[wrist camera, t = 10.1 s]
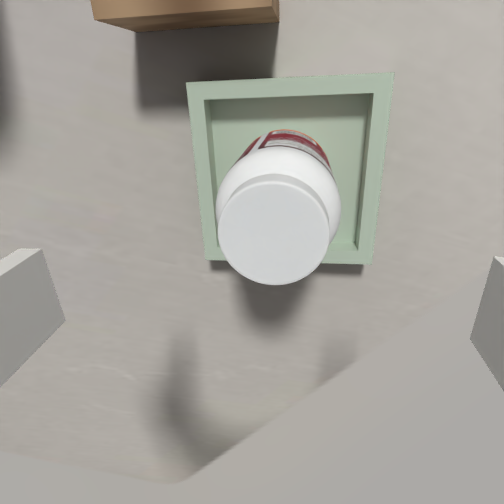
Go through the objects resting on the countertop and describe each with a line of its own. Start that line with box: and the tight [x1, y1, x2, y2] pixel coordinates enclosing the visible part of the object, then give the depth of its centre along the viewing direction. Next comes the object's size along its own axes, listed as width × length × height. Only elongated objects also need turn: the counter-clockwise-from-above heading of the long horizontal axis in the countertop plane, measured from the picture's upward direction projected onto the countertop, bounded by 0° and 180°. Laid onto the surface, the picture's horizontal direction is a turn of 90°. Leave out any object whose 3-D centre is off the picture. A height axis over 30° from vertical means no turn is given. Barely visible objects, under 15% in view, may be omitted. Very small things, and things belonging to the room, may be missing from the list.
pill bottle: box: [216, 129, 341, 285], centre depth 19 cm, size 6×6×11 cm
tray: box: [186, 72, 395, 265], centre depth 24 cm, size 12×12×2 cm
